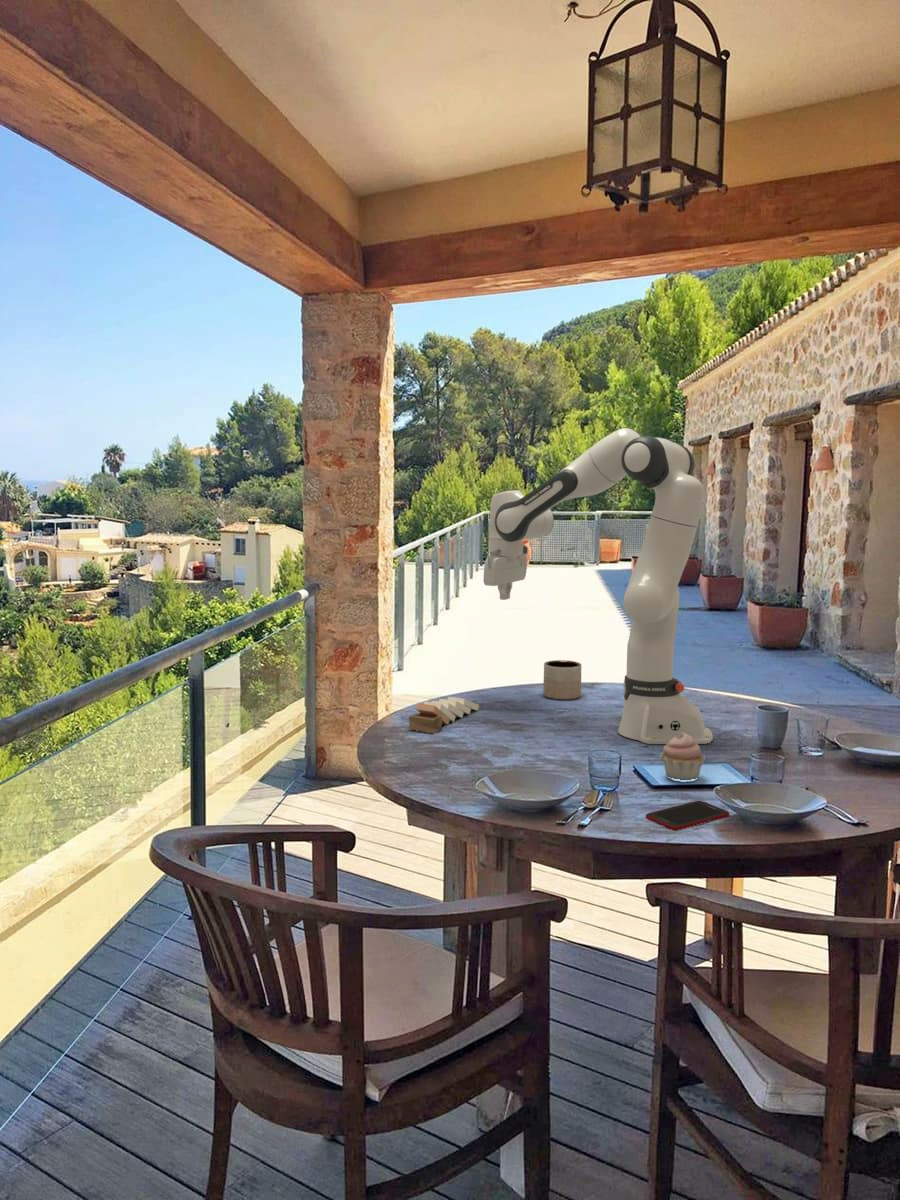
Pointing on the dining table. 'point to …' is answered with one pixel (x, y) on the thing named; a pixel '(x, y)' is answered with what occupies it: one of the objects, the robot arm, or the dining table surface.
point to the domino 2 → (443, 710)
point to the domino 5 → (465, 703)
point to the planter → (562, 679)
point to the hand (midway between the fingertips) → (504, 599)
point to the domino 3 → (452, 709)
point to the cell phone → (687, 815)
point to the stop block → (425, 723)
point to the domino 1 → (432, 712)
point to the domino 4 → (457, 705)
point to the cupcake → (682, 758)
